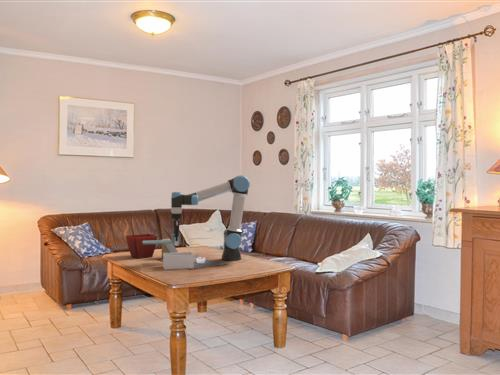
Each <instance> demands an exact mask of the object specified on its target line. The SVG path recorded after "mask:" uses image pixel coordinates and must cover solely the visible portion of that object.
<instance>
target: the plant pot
mask: <svg viewBox="0 0 500 375" xmlns="http://www.w3.org/2000/svg"><path fill="white" fill-rule="evenodd" d="M125 238H126V243H127V247H128V250H129V254H130V256H131V257H133V258H135V259H144V258H152V257H153V256H154V254H155V249H156V247H157V244H143V241H147V240H158V235H156V234H151V233H143V234H140V233H139V234H130V235H126V236H125Z"/></svg>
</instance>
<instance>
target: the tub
mask: <svg viewBox="0 0 500 375" xmlns="http://www.w3.org/2000/svg"><path fill="white" fill-rule="evenodd" d="M162 263H163V264H162V265H163V269H164V270H165V271H166V270H181V269H195V255H194V252H192V251H180V252H179V251H178V252H176V253H163V259H162Z"/></svg>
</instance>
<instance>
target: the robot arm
mask: <svg viewBox="0 0 500 375" xmlns="http://www.w3.org/2000/svg"><path fill="white" fill-rule="evenodd" d="M250 186H251V182H250V179H249V178H248V177H247V176H245V175H241V174H240V175H236V176H234V178H231V179H228V180H227V181H226V182H223V183H220V184H217V185H214V186H211V187H208V188H205V189H201V190H199V191H196V192H192V193H188V194H183V193H182V191H172V192H171V197H170V198H171V200H170V203H171V206H170V207H171V208H170V212H171V213H170V218H171V219H173V234H175V236H174V237H175V239H174V243H173V245H174V246H179V243H178V236H179V234H180V233H179V232H180V231H179V230H180V229H179V228H180V221H179V220H180V219H182V218H183V217H182V215H183V214H182V212H183V206H197V205H199V202H202V201H205V200H207V199H211V198H214V197H218V196H221V195H224V194H227V193H231V194H232V195H233V197H232V205H231V212H230V218H229V226H228V228H226V229H224V230H223V252H222V255H221V260H223V261H240V260H242V254H241V250H240V246H241V245H242V242H243V240H242V236H243V230H242V222H243V221H242V220H243V214H244V208H245V201H246V197H247V196H248V194H249V188H250Z"/></svg>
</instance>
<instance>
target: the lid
mask: <svg viewBox="0 0 500 375" xmlns="http://www.w3.org/2000/svg"><path fill="white" fill-rule="evenodd" d="M174 236H175V234H174V233H171V239H170V240H162V239H161V240H160V239H157V240H147V241H143V244H156V245H162V244H173V245H174V239H175V237H174ZM180 243H181V233H179V236H178V244H180Z"/></svg>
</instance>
